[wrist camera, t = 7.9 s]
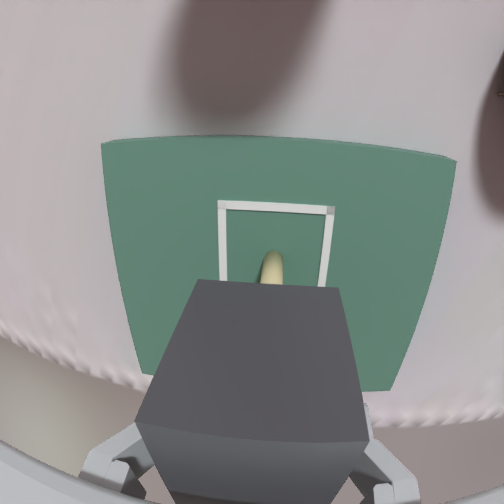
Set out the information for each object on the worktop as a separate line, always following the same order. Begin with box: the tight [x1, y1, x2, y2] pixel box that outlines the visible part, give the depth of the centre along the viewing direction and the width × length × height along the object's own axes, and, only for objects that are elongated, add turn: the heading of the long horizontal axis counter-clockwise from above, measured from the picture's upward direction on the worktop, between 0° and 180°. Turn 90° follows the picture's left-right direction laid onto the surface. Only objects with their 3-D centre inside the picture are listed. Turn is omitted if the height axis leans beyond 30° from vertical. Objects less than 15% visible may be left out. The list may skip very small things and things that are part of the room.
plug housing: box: [135, 279, 370, 504], centre depth 10 cm, size 4×12×6 cm, turn 179°
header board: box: [101, 136, 457, 392], centre depth 16 cm, size 18×16×6 cm
